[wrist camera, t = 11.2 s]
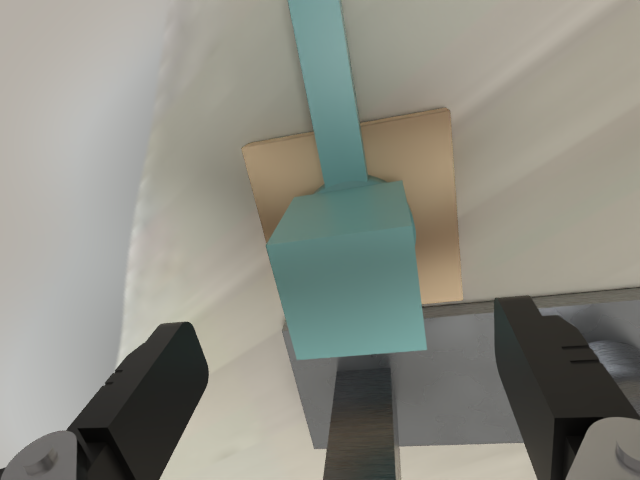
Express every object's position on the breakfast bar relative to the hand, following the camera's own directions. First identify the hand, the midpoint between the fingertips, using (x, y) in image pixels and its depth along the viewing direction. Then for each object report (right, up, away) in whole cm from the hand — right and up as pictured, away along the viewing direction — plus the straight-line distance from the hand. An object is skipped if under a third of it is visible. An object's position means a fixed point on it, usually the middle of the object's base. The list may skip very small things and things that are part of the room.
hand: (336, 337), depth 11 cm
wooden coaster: (+1, +4, +9) cm, 10 cm away
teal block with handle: (+1, +6, +7) cm, 9 cm away
